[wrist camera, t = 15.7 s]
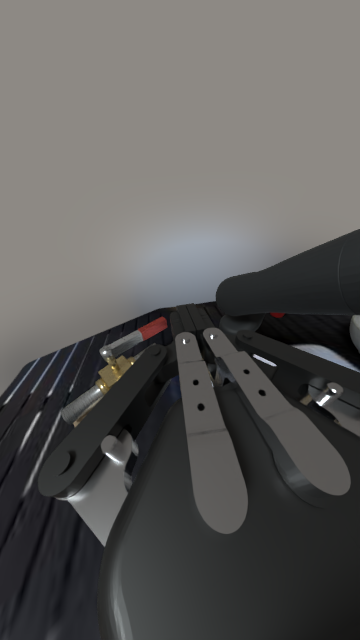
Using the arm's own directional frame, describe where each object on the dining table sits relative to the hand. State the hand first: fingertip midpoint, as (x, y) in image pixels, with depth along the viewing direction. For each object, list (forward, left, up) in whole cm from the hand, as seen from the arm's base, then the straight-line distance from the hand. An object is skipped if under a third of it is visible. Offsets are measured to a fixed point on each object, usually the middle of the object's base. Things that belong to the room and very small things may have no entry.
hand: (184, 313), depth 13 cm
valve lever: (+1, -25, -24) cm, 35 cm away
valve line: (+10, -24, -37) cm, 45 cm away
